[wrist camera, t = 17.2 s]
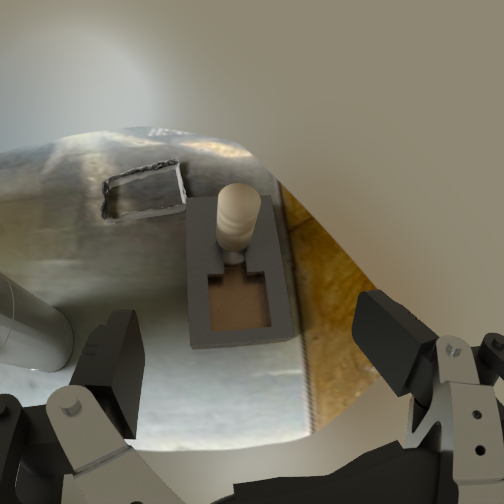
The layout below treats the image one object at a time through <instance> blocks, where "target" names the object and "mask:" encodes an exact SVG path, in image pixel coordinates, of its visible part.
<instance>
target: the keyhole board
mask: <svg viewBox="0 0 504 504" xmlns="http://www.w3.org/2000/svg"><path fill="white" fill-rule="evenodd" d="M260 198H261V206H260V209H259V213H258V216H257V220H256V223H255V227H254V230H253V234H252V237H251V241H250V243H249V245H248V246H247V247H246V248H245V249H244V258H245V262H243V263H242V264H240V265H237V266H228V265H224V260H223V248H222V247H221V246H220V245H219V244H218V242H217V239H216V226H217V208H218V196H214V197H188V198H186V268H187V296H188V315H189V332H190V346H191V348H192V349H208V348H223V347H236V346H247V345H258V344H267V343H276V342H284V341H288V340H290V339H291V338H293V337H294V331H293V325H292V318H291V312H290V305H289V299H288V293H287V287H286V281H285V275H284V269H283V263H282V257H281V251H280V245H279V239H278V234H277V228H276V223H275V217H274V211H273V206H272V201H271V195H265V196H260Z"/></svg>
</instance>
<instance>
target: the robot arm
mask: <svg viewBox="0 0 504 504" xmlns="http://www.w3.org/2000/svg"><path fill="white" fill-rule="evenodd" d="M352 336H353V339H354V341H355V343H356V344H357V345H358V346H359V348H360V349H361V350H362V352H363V353H364V354H365V355H366V357H367V358H368V359H369V360H370V362H371V363H372V364H373V366H374V367H375V368H376V369H377V371H378V372H379V373H380V374H381V376H382V377H383V378H384V379H385V381H386V382H387V383H388V385H389V386H390V387H391V389H392V390H393V391H394V393H395V394H396V395H397V396H398V397H400V396H403V395H406V394H408V393H410V392H411V394H412V397H411V399H410V402H409V413H408V424H407V433H406V440H405V444H404V447H403V448H402V446H401V445H400V443H399V442H398V440H396V441H394V442H391V443H389V444H386V445H384V446H382V447H379V448H377V449H374V450H372V451H369V452H366V453H364V454H362V455H361V456H359V457H358V458H356V459H354V460H353V461H351V462H350V463H348V464H347V465H345V466H343V467H342V468H340V469H338V470H337V471H335V472H334V473H331V474H329V475H325V476H310V477H277V478H272V479H266V480H259V481H253V482H246V483H238V484H233V488H234V494H232V495H229V496H226V497H224V498H221V499H219V500H217V501H215V502H213V503H211V504H504V406H503V405H502V404H501V403H500V402H499V400H498V399H497V398H496V397H495V392H494V389H493V386H494V384H495V383H496V381H497V379H498V378H499V376H500V377H501V378H502V379H503V380H504V336H502V335H500V334H497V333H488V334H486V335H485V337H484V339H483V341H482V344H481V345H480V346H477V347H470V346H469V345H468V344H467V343H466V342H465V341H464V340H462V339H460V338H457V337H453V336H443V337H438V336H437V335H436V334H435V333H434V332H433V331H432V330H431V329H430V328H428V327H427V326H426V325H425V324H424V323H422V322H421V321H420V320H418V319H417V317H416V316H414V315H413V314H411V312H410V311H409V310H407V309H406V308H405V307H404V306H403V305H401V304H399V303H397V302H395V301H393V300H392V299H391V298H389V297H388V296H387V295H386V294H385V293H384V292H382V291H381V290H379V289H378V290H371V291H363V292H361V293H360V294H359V296H358V300H357V305H356V310H355V315H354V319H353V324H352ZM72 349H73V332H72V328H71V326H70V323H69V321H68V320H67V318H66V317H65V316H64V315H63V314H62V313H61V312H60V311H58V310H56V309H55V308H53V307H51V306H50V305H48V304H47V303H45V302H44V301H42V300H41V299H39V298H37V297H36V296H34V295H33V294H31V293H30V292H28V291H27V290H25V289H24V288H22V287H21V286H19V285H18V284H17V283H15V282H14V281H12V280H11V279H10V278H8V277H7V276H5V275H4V274H3V273H1V272H0V363H4V364H9V365H13V366H18V367H23V368H27V369H32V370H38V371H44V372H55V371H57V370H59V369H61V368H62V367H63V366H64V365H65V364H66V363H67V362H68V360H69V358H70V356H71V353H72ZM144 366H145V352H144V346H143V342H142V338H141V333H140V329H139V324H138V320H137V315H136V312H135V311H134V310H116V311H112V313H111V316H110V318H109V320H108V323H107V325H99V326H98V327H97V328H96V329H95V330H94V331H93V332H92V333H91V334H90V335H89V338H88V340H87V342H86V346H85V347H84V349H83V351H82V355H81V356H80V358H79V361H78V363H77V366H76V368H75V371H74V373H73V376H72V378H71V381H70V383H69V385H68V386H64V387H61V388H59V389H57V390H56V391H55V392H53V393H52V394H51V396H50V397H49V399H48V400H47V403H46V404H45V405H39V406H31V407H22V405H21V404H20V402H19V401H18V399H17V398H16V397H14V396H13V395H10V394H0V504H61V497H62V487H63V479H64V474H73V477H74V480H75V482H76V483H77V485H78V487H79V489H80V490H81V492H82V493H83V495H84V497H85V498H86V500H87V501H88V503H89V504H185V502H183V501H182V500H181V499H180V498H179V497H178V496H177V495H176V494H175V493H174V492H173V491H172V490H171V489H170V488H169V487H168V486H167V485H166V484H165V483H164V482H163V481H162V480H161V479H160V477H159V476H158V475H157V474H156V473H155V472H154V471H153V470H152V469H151V468H150V467H149V465H148V464H147V463H146V462H145V461H144V460H143V458H142V457H141V456H140V455H139V454H138V453H137V451H136V450H135V449H134V448H133V447H132V446H131V445H130V446H129V445H128V444H127V443H126V442H125V440H124V439H136V430H137V420H138V411H139V403H140V395H141V387H142V380H143V373H144ZM19 463H20V467H19ZM18 468H19V472H18ZM17 472H18V477H17V481H16V476H17ZM15 482H16V487H15Z"/></svg>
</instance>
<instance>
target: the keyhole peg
mask: <svg viewBox="0 0 504 504" xmlns="http://www.w3.org/2000/svg"><path fill="white" fill-rule="evenodd" d="M260 206H261V198H260V195H259V194H258V192H257V191H256V190H255V189H254V188H253V187H251V186H249V185H246V184H242V183H234V184H230V185H228V186H226V187H225V188H223V189H222V190H221V192H220V193H219V196H218V208H217V226H216V239H217V242H218V244H219V245H220V246H221V247H222V248H223V260H224V265H228V266H237V265H240V264H242V263H243V262H245V258H244V249H245V248H246V247H247V246H248V245H249V243H250V241H251V237H252V234H253V230H254V227H255V223H256V220H257V216H258V213H259V209H260Z"/></svg>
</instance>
